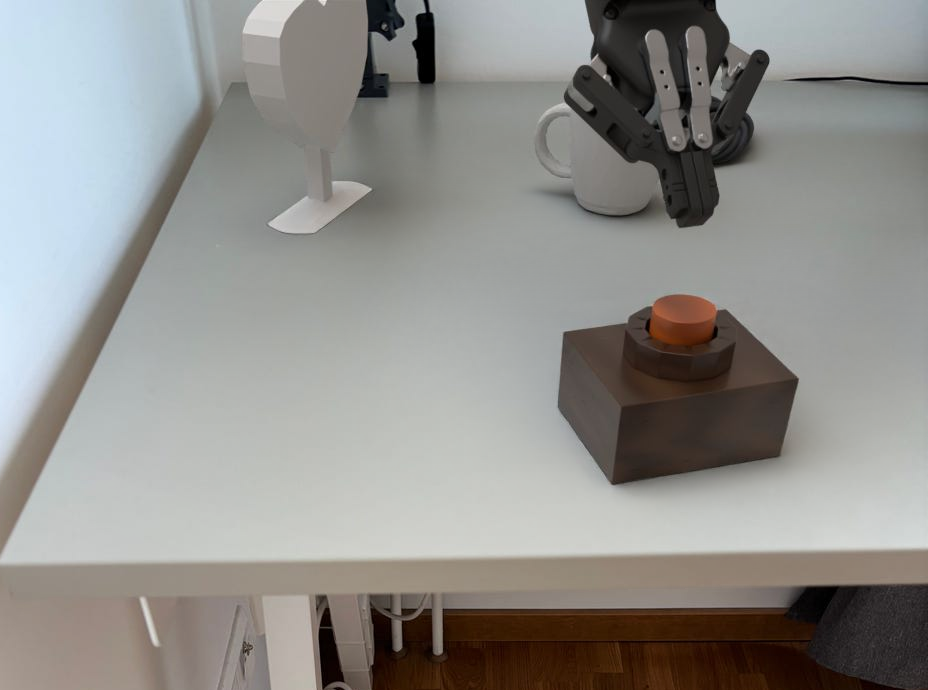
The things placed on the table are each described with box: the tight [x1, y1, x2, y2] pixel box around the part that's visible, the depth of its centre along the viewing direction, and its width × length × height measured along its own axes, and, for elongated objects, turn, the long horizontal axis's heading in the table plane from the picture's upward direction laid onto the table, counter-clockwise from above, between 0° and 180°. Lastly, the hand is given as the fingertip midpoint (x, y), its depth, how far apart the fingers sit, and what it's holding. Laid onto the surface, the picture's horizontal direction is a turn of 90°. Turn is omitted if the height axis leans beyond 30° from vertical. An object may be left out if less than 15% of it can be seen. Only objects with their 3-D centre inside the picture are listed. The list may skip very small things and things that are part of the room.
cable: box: [709, 95, 755, 164], centre depth 115 cm, size 17×14×4 cm
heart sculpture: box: [241, 0, 373, 235], centre depth 97 cm, size 16×5×18 cm, turn 156°
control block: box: [557, 305, 800, 485], centre depth 71 cm, size 12×10×8 cm
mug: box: [533, 102, 660, 216], centre depth 101 cm, size 13×9×10 cm
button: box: [649, 293, 718, 346], centre depth 69 cm, size 4×4×2 cm
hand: (696, 221), depth 65 cm, fingers closed
